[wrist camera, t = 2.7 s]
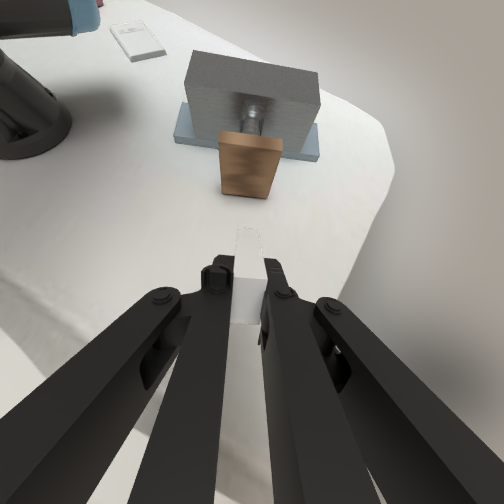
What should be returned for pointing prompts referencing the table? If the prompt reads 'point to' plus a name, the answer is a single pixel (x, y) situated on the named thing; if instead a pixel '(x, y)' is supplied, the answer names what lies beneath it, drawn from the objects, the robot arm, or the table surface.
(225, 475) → the table surface
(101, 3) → the video game controller
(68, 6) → the robot arm
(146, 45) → the external hard drive
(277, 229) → the table surface
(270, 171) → the brown wooden block
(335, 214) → the table surface
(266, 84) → the housing
